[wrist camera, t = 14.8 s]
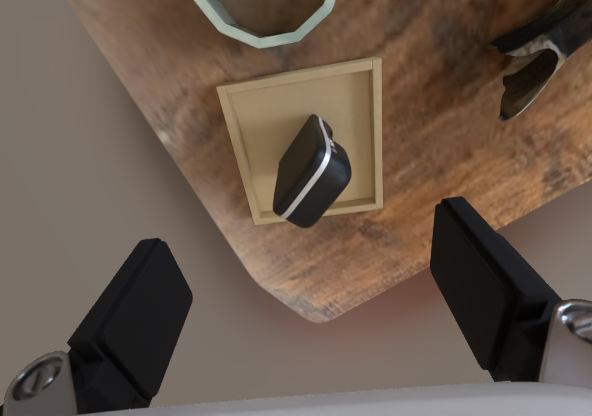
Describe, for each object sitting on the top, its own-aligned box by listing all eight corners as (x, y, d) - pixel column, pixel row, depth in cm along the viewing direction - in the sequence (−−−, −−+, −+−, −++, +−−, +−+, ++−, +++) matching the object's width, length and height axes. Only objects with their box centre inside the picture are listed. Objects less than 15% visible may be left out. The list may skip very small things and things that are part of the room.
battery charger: (305, 181, 34) (308, 243, 24) (276, 163, 33) (268, 221, 23) (343, 130, 31) (364, 178, 21) (313, 109, 30) (321, 149, 20)
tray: (375, 56, 28) (381, 58, 26) (378, 199, 36) (382, 208, 34) (220, 83, 29) (215, 86, 27) (256, 215, 37) (254, 225, 35)
